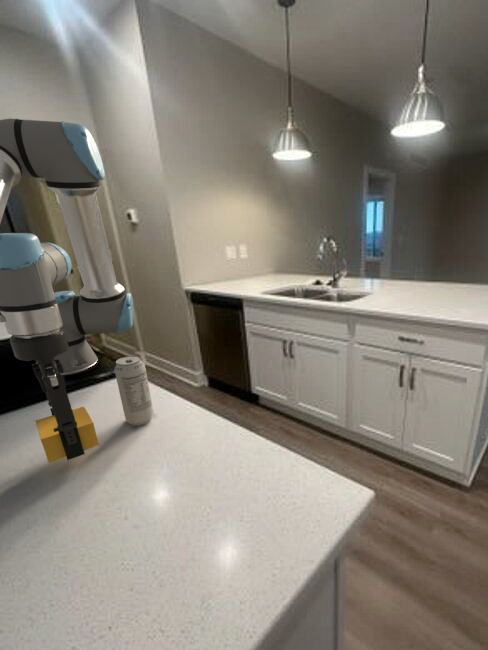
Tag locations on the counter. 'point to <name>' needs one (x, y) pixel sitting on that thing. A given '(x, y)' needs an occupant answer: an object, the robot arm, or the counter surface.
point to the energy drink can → (134, 390)
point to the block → (53, 439)
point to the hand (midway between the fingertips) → (71, 445)
